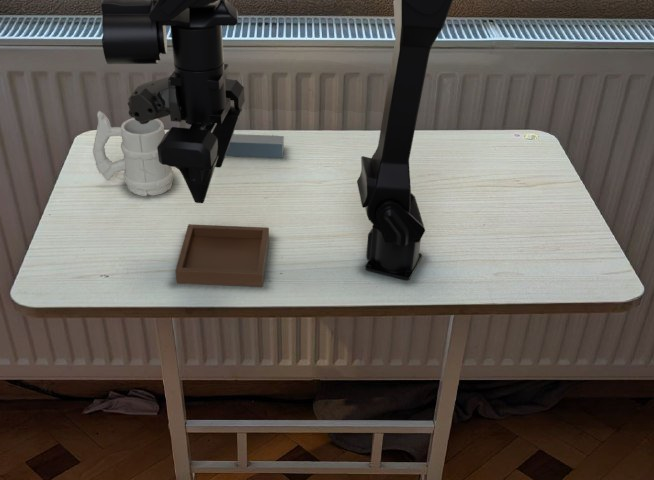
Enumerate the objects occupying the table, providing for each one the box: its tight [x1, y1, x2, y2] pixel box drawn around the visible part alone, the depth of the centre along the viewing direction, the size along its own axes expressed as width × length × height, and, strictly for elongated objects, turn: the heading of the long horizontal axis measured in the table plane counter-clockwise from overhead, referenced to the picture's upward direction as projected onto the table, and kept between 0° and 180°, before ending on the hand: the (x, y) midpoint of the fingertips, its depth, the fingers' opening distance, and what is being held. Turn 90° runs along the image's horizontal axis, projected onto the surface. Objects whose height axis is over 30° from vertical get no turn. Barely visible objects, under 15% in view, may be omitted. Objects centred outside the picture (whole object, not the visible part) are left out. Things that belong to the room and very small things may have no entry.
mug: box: [92, 110, 175, 197], centre depth 127 cm, size 8×12×12 cm, turn 96°
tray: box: [175, 223, 270, 288], centre depth 116 cm, size 12×12×2 cm
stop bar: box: [225, 133, 285, 159], centre depth 139 cm, size 3×12×2 cm, turn 88°
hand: (208, 184), depth 106 cm, fingers open, 9 cm apart
